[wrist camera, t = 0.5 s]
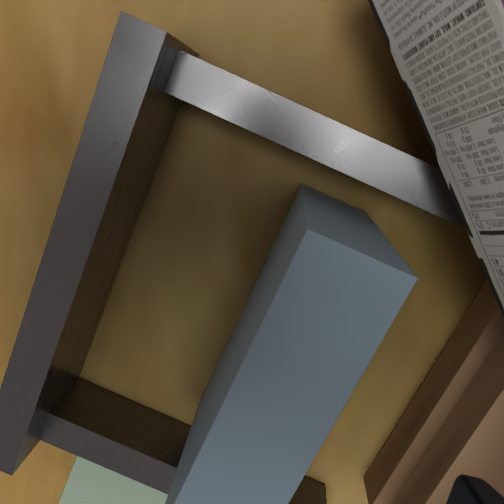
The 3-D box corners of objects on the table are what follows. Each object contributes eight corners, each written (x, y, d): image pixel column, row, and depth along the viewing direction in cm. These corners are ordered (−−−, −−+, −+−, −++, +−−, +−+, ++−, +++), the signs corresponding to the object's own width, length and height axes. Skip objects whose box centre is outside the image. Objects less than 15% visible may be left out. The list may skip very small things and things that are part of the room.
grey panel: (365, 212, 20) (418, 278, 12) (254, 428, 24) (230, 604, 15) (302, 183, 20) (307, 228, 12) (198, 404, 24) (143, 567, 15)
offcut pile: (617, 325, 21) (690, 372, 17) (471, 524, 24) (505, 601, 20) (492, 269, 21) (538, 303, 17) (363, 477, 24) (376, 546, 20)
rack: (499, 191, 20) (565, 214, 15) (310, 509, 25) (313, 603, 20) (164, 38, 19) (121, 10, 14) (40, 393, 24) (-23, 460, 19)
